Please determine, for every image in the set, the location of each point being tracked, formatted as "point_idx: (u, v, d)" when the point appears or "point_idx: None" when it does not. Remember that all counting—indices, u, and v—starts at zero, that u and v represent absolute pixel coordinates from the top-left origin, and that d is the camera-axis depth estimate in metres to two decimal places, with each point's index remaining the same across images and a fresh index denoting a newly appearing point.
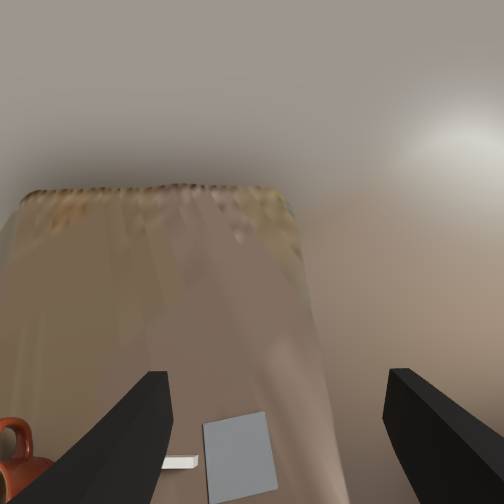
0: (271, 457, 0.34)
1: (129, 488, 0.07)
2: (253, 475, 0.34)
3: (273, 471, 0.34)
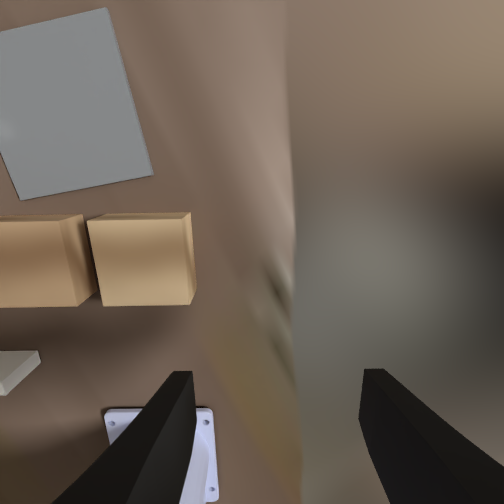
0: (134, 118, 0.15)
1: (163, 488, 0.07)
2: (97, 151, 0.16)
3: (139, 145, 0.16)
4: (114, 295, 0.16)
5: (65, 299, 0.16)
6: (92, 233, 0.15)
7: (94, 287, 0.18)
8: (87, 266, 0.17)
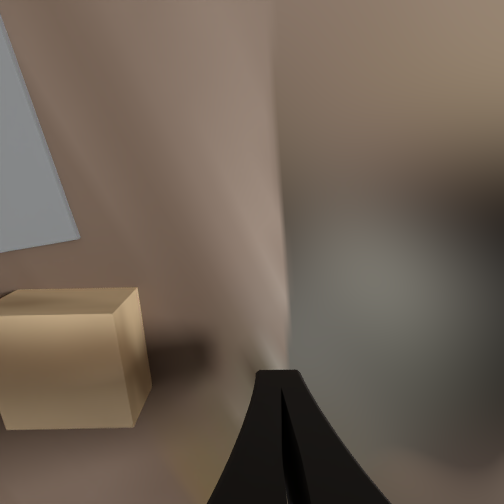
0: (44, 158, 0.10)
1: None
2: None
3: (55, 197, 0.10)
4: (21, 416, 0.11)
5: None
6: None
7: None
8: None
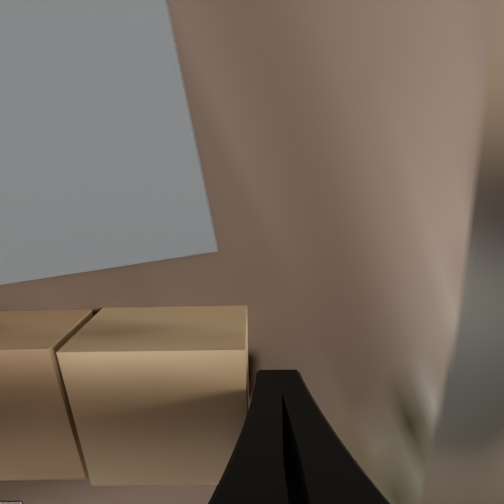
0: (191, 152, 0.08)
1: None
2: (120, 209, 0.09)
3: (198, 200, 0.09)
4: (111, 470, 0.09)
5: (64, 469, 0.09)
6: (68, 373, 0.08)
7: None
8: None
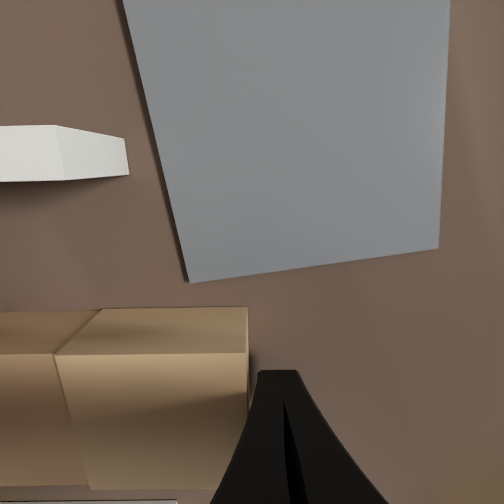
0: (437, 148, 0.08)
1: None
2: (351, 206, 0.09)
3: (432, 197, 0.08)
4: (110, 474, 0.09)
5: (73, 475, 0.09)
6: (66, 377, 0.08)
7: None
8: None
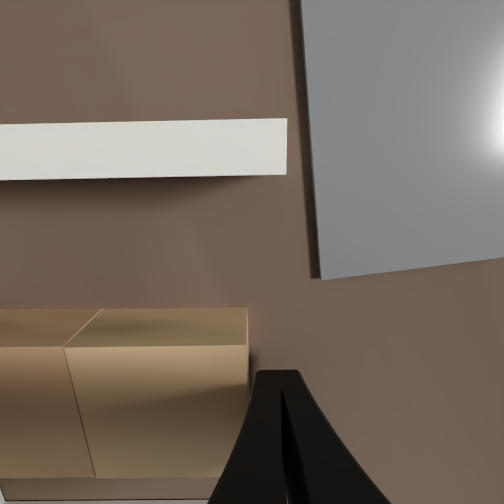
0: None
1: None
2: (497, 203, 0.08)
3: None
4: (116, 463, 0.09)
5: (73, 467, 0.09)
6: (75, 368, 0.08)
7: None
8: None
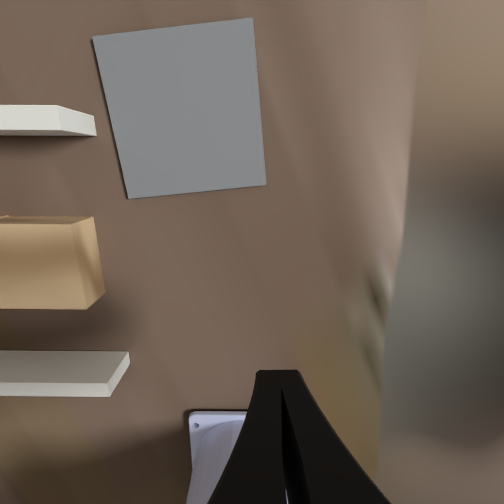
0: (258, 128, 0.15)
1: None
2: (216, 157, 0.16)
3: (259, 155, 0.16)
4: (10, 298, 0.16)
5: None
6: None
7: None
8: None
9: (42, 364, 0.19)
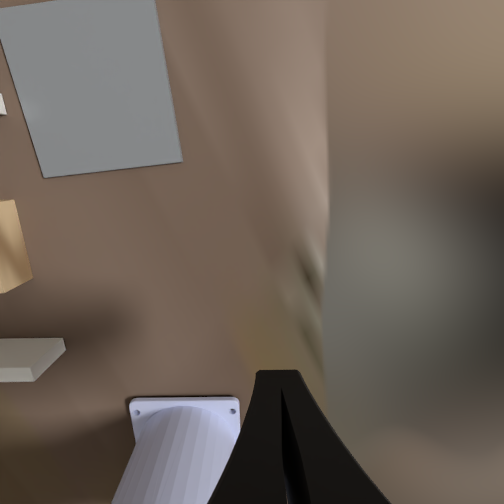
0: (169, 102, 0.15)
1: None
2: (128, 133, 0.15)
3: (172, 130, 0.15)
4: None
5: None
6: None
7: None
8: None
9: None
